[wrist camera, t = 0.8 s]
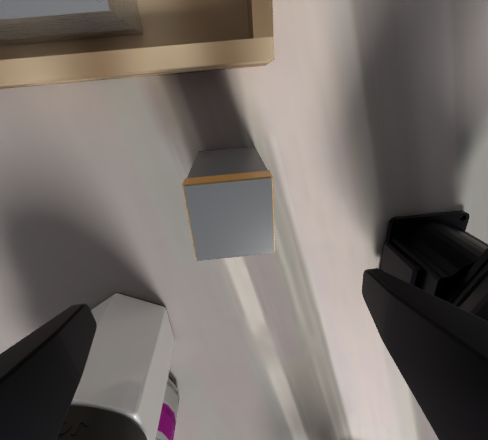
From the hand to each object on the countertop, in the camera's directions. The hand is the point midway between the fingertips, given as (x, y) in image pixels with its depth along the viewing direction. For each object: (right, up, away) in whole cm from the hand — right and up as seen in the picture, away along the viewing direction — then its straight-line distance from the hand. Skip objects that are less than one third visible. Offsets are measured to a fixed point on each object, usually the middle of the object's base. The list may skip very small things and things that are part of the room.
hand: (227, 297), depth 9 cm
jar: (-10, -8, +17) cm, 22 cm away
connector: (0, +6, +11) cm, 13 cm away
